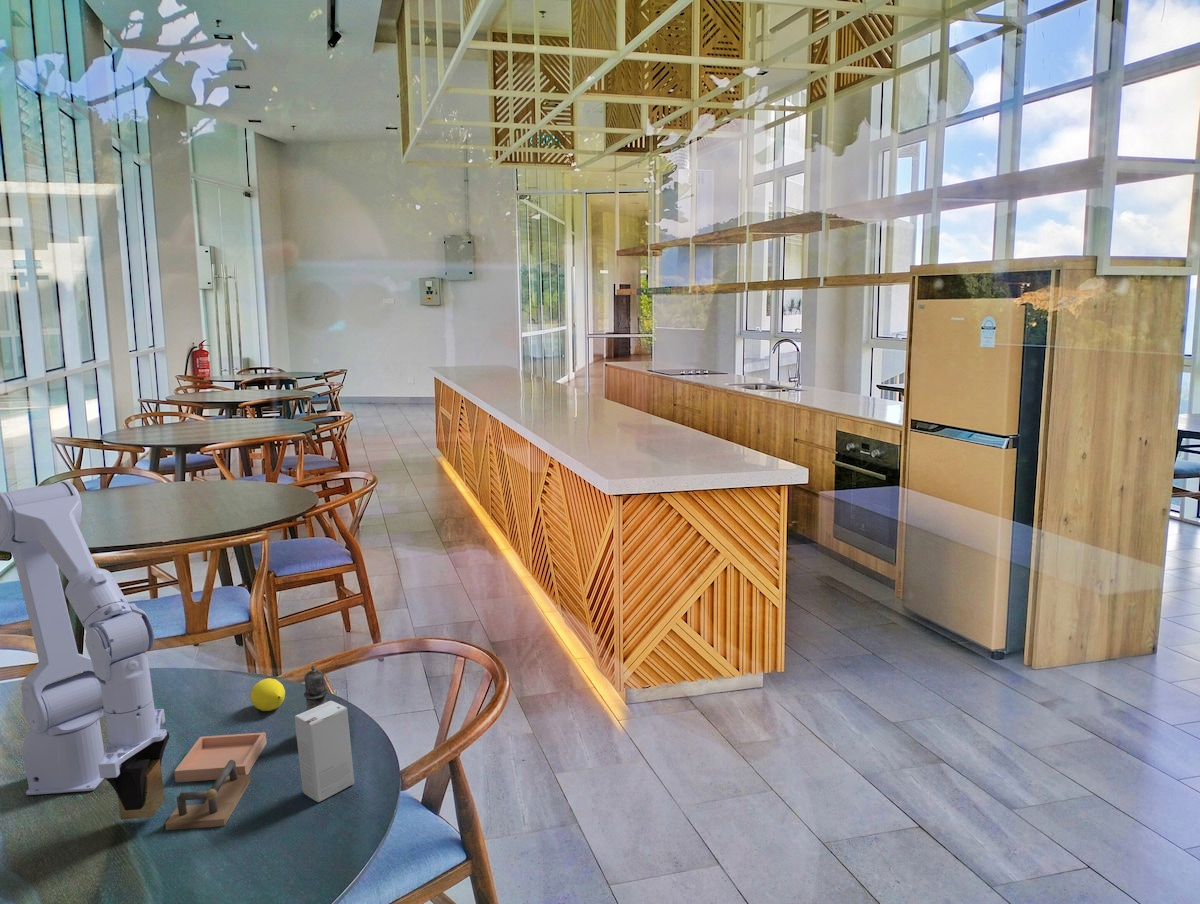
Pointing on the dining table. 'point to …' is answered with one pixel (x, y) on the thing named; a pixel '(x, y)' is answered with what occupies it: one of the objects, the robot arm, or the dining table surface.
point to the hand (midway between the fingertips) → (141, 798)
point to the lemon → (267, 694)
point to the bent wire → (210, 802)
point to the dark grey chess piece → (314, 689)
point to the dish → (220, 756)
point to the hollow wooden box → (148, 793)
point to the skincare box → (324, 750)
